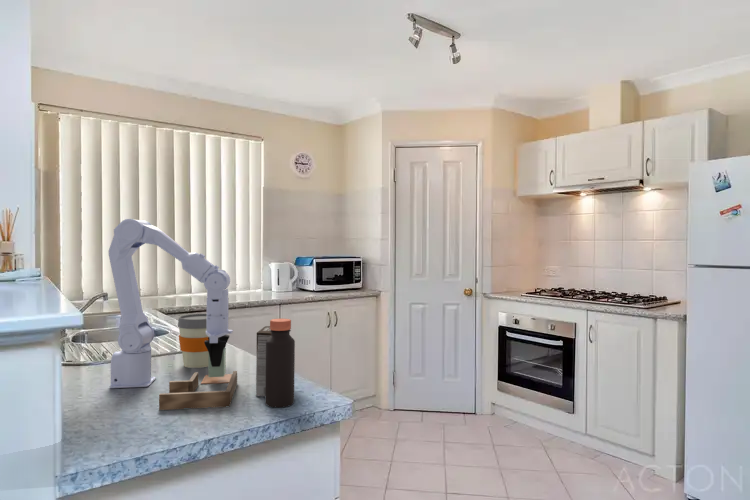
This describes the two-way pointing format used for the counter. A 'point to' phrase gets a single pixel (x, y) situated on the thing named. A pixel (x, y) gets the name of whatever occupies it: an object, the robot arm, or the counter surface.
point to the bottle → (280, 365)
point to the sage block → (217, 370)
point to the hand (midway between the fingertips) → (217, 364)
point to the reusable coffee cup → (193, 340)
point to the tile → (216, 379)
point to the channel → (196, 395)
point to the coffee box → (261, 360)
